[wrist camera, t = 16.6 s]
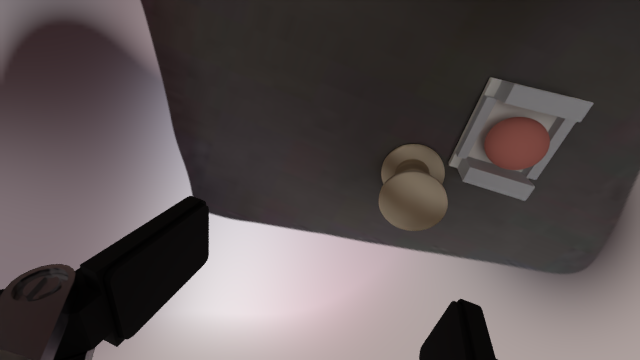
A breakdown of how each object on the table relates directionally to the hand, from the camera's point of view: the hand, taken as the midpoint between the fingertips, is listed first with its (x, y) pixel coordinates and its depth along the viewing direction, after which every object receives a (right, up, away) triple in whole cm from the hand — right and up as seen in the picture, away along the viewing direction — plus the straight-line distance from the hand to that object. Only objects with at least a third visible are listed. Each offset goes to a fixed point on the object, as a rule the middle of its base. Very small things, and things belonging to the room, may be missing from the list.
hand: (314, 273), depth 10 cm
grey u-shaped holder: (+22, +9, +21) cm, 32 cm away
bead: (+21, +8, +20) cm, 31 cm away
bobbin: (+13, +5, +26) cm, 30 cm away
